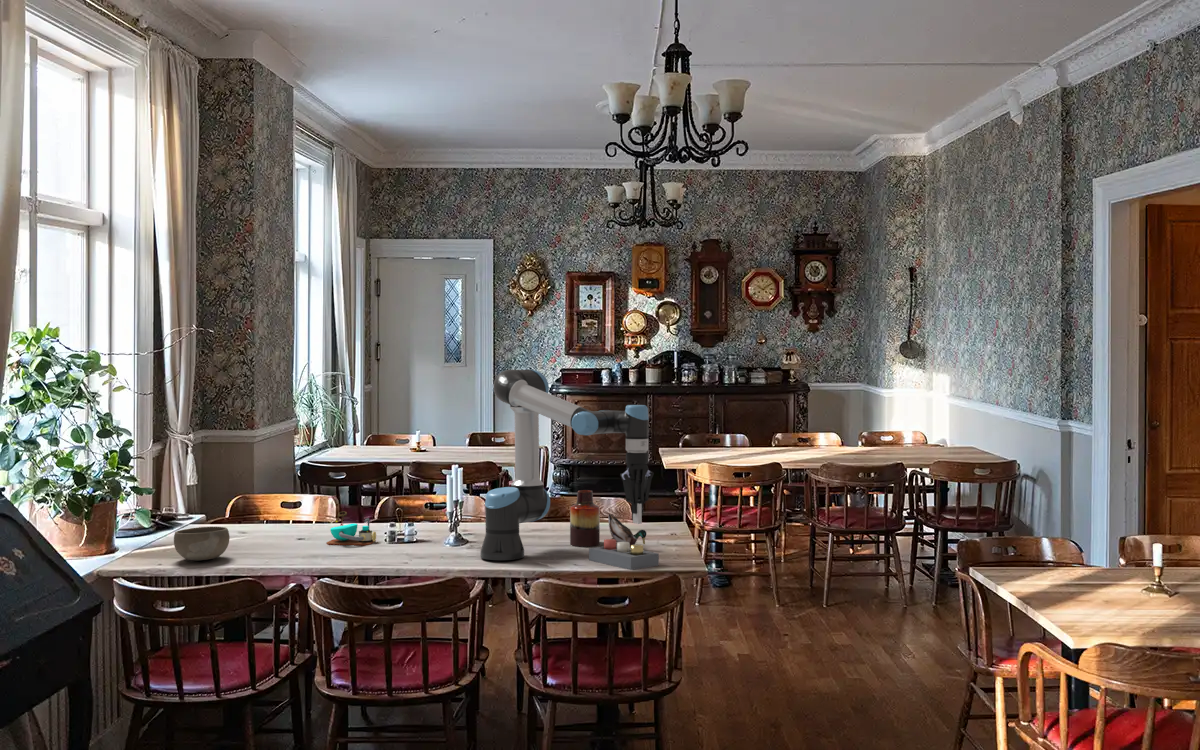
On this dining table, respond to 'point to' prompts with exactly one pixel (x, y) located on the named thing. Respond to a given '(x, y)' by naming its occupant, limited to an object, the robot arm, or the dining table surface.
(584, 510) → the vase
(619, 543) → the ivory button
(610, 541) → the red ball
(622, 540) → the decorative duck model
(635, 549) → the gold rounded piece
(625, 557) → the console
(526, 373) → the robot arm
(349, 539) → the contraption on wooden base
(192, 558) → the bowl
